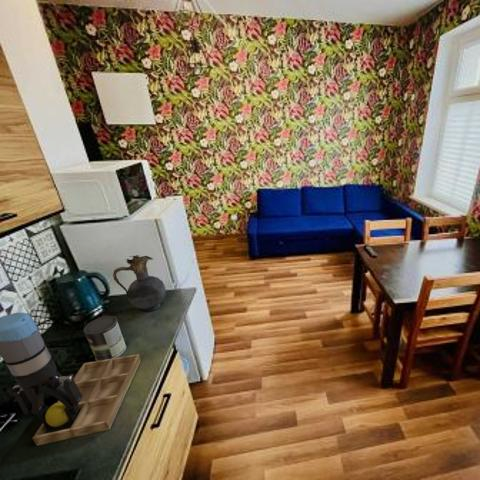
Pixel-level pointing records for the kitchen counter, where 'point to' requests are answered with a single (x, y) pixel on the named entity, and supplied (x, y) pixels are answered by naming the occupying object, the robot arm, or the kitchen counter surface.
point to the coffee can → (105, 338)
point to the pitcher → (142, 285)
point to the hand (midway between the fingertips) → (63, 422)
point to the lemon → (56, 415)
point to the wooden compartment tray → (95, 398)
